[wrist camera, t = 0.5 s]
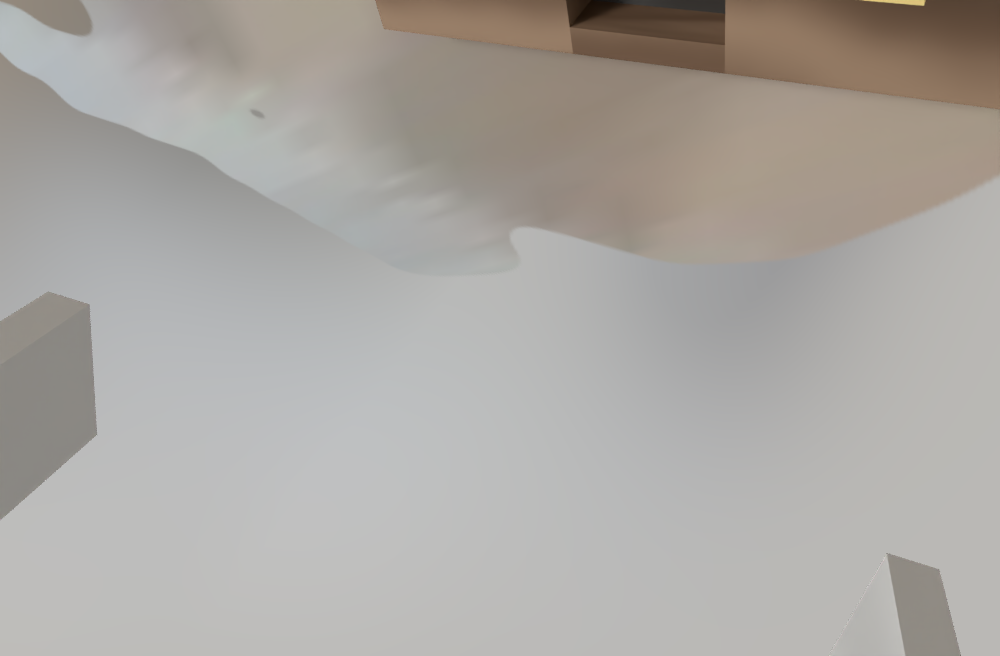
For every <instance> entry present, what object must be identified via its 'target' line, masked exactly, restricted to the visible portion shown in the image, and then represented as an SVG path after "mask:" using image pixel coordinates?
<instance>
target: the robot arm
mask: <svg viewBox="0 0 1000 656" xmlns="http://www.w3.org/2000/svg"><path fill="white" fill-rule="evenodd" d="M90 325H91V324H90V306H89V304H86V303H83V302H80V301H77V300H73V299H70V298H67V297H64V296H61V295H57V294H54V293H51V292H47V293H45V294H44V295H42V296H40V297H39V298H37V299H36V300H34V301H33V302H31V303H29V304H28V305H26V306H24V307H23V308H21V309H20V310H18V311H16V312H15V313H13V314H12V315H10V316H8V317H7V318H5V319H4V320H2V321H0V520H1V519H2V518H3V517H4V516H6V515H7V514H8V513H9V512H10V511H11V510H12V509H14V508H15V507H16V506H17V505H18V504H19V503H20V502H21V501H23V500H24V499H25V498H26V497H27V496H28V495H29V494H30V493H32V491H34V490H35V489H36V488H37V487H38V486H40V485H41V484H42V483H43V482H44V481H45V480H46V479H47V478H49V477H50V476H51V475H52V474H53V473H54V472H55V471H56V470H58V469H59V468H60V467H61V466H62V465H63V464H64V463H66V462H67V461H68V460H69V459H70V458H71V457H72V456H73V455H75V453H77V452H78V451H79V450H80V449H81V448H82V447H84V446H85V445H86V444H87V443H88V442H89V441H90V440H92V438H94V437H95V436H96V435H97V428H96V411H95V394H94V376H93V358H92V342H91V326H90ZM829 656H961V655H960V650H959V646H958V643H957V638H956V634H955V630H954V626H953V623H952V618H951V615H950V610H949V606H948V602H947V599H946V595H945V591H944V587H943V583H942V579H941V575H940V571H939V569H936V568H933V567H929V566H926V565H923V564H920V563H916V562H914V561H910V560H907V559H904V558H901V557H898V556H894V555H891V554H888V553H887V554H886V555H885V557H884V558H883V560H882V562H881V564H880V565H879V567H878V569H877V571H876V573H875V574H874V576H873V578H872V580H871V581H870V583H869V585H868V587H867V589H866V590H865V592H864V594H863V596H862V597H861V599H860V601H859V603H858V604H857V606H856V608H855V610H854V612H853V613H852V615H851V617H850V619H849V620H848V622H847V624H846V626H845V628H844V629H843V631H842V633H841V635H840V636H839V638H838V640H837V642H836V643H835V645H834V647H833V649H832V651H831V652H830V654H829Z"/></svg>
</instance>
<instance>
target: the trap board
mask: <svg viewBox="0 0 1000 656" xmlns="http://www.w3.org/2000/svg"><path fill="white" fill-rule="evenodd" d="M375 1H376V4H377V8H378V11H379V14H380V17H381V21H382V24H383V27H384V29H388V30H396V31H403V32H411V33H419V34H426V35H434V36H442V37H449V38H457V39H465V40H473V41H480V42H488V43H496V44H503V45H511V46H519V47H526V48H534V49H542V50H549V51H557V52H565V53H572V54H580V55H588V56H595V57H603V58H611V59H618V60H626V61H634V62H641V63H649V64H657V65H664V66H672V67H680V68H688V69H695V70H703V71H711V72H718V73H726V74H734V75H741V76H749V77H757V78H764V79H772V80H780V81H787V82H795V83H803V84H810V85H818V86H826V87H833V88H841V89H849V90H856V91H864V92H872V93H879V94H887V95H895V96H902V97H910V98H918V99H926V100H933V101H941V102H949V103H956V104H964V105H972V106H979V107H987V108H995V109H1000V0H926V2H925V4H924V6H921V5H909V4H898V3H887V2H875V1H864V0H375Z"/></svg>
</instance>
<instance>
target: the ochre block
mask: <svg viewBox="0 0 1000 656" xmlns="http://www.w3.org/2000/svg"><path fill="white" fill-rule="evenodd" d="M864 1H875V2H887V3H898V4H909V5H921V6H924V4H925V2H926V0H864Z"/></svg>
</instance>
